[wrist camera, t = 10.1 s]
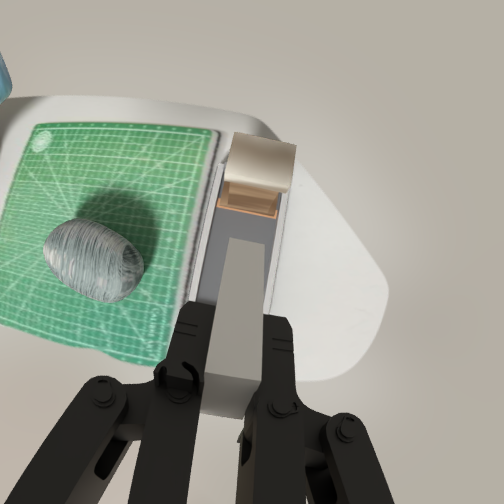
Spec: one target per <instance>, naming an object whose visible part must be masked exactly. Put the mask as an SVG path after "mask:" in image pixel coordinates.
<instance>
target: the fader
mask: <svg viewBox="0 0 504 504" xmlns="http://www.w3.org/2000/svg"><path fill="white" fill-rule="evenodd" d="M295 152H296V145H293V144H289V143H285V142H281V141H277V140H272V139H268V138H263V137H258V136H254V135H249V134H244V133H238V132H234V136H233V140H232V144H231V148H230V152H229V156H228V160H227V164H226V169H225V174H224V186H223V190H222V194H221V199H220V204H219V206H224V207H229V208H234V209H239V210H244V211H249V212H254V213H259V214H263V215H268V216H273V217H274V215H275V212H276V206H277V200H278V194H279V192H280V193H285V194H286V193H287V191H288V190H289V188H290V186H291V180H292V173H293V166H294V159H295ZM226 181H228V182H226Z"/></svg>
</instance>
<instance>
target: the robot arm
mask: <svg viewBox="0 0 504 504" xmlns="http://www.w3.org/2000/svg"><path fill="white" fill-rule="evenodd" d="M11 91H12V82H11V78H10V75H9V73H8V70H7V67H6V65H5V62H4V60H3V57H2V55H1V53H0V104H1V103H2V102H3V101H4V100H5V99H6V98H7V97H8V96H9V95H10V93H11ZM264 252H265V244H260V243H255V242H250V241H245V240H240V239H235V238H229V243H228V248H227V253H226V259H225V264H224V269H223V274H222V279H221V284H220V289H219V295H218V300H217V305H216V306H214V305H209V304H204V303H199V302H194V301H188V302H187V303H186V304H185V305H184V306H183V307H182V308H181V309H180V311H179V315H178V318H177V322H176V325H175V328H174V332H173V335H172V338H171V342H170V345H169V349H168V352H167V356H166V359H164V360H163V361H161V362H160V363H159V364H157V366H156V368H155V370H154V371H153V373H154V379H153V380H151V381H149V382H147V383H141V384H121V383H120V382H119V381H118V380H116V379H115V378H112V377H109V376H96V377H94V378H91V379H90V380H89V381H87V382H86V383H85V384H84V386H83V387H82V388H81V390H80V391H79V392H78V394H77V395H76V396H75V398H74V399H73V401H72V402H71V403H70V405H69V406H68V408H67V409H66V410H65V412H64V413H63V415H62V416H61V417H60V419H59V420H58V422H57V423H56V425H55V426H54V428H53V429H52V430H51V432H50V433H49V435H48V436H47V438H46V439H45V440H44V442H43V443H42V445H41V447H40V448H39V449H38V451H37V453H36V454H35V455H34V457H33V458H32V460H31V462H30V463H29V465H28V466H27V468H26V469H25V471H24V472H23V474H22V475H21V477H20V479H19V480H18V482H17V483H16V485H15V487H14V488H13V490H12V491H11V493H10V495H9V496H8V498H7V500H6V502H5V503H4V504H98V502H99V500H100V498H101V497H102V495H103V493H104V491H105V489H106V488H107V486H108V484H109V482H110V481H111V479H112V477H113V475H114V474H115V472H116V470H117V468H118V467H119V465H120V463H121V461H122V460H123V458H124V456H125V454H126V453H127V451H128V449H129V447H130V446H131V444H132V442H133V441H137V440H141V444H140V448H139V453H138V457H137V461H136V466H135V470H134V475H133V479H132V484H131V489H130V494H129V499H128V504H187V496H188V488H189V481H190V473H191V467H192V460H193V453H194V445H195V439H196V433H197V425H198V420H199V413H203V414H208V415H214V416H221V417H227V418H234V419H241V420H242V419H243V417H244V415H245V418H244V419H245V420H244V428H243V430H242V431H241V433H240V435H239V437H238V440H237V443H240V451H239V464H238V477H237V491H236V504H306V497H307V500H308V504H394V501H393V498H392V495H391V493H390V490H389V487H388V485H387V482H386V479H385V477H384V474H383V471H382V469H381V466H380V464H379V461H378V458H377V456H376V453H375V451H374V448H373V446H372V443H371V441H370V438H369V435H368V433H367V430H366V428H365V426H364V424H363V423H362V421H361V420H360V419H359V418H358V417H356V416H355V415H353V414H350V413H338V414H336V415H334V416H333V417H330V416H327V415H324V414H322V413H319V412H316V411H314V410H312V409H310V408H308V407H307V406H306V405H304V404H303V403H302V401H301V400H300V399H299V397H298V395H297V392H296V386H295V365H294V353H293V351H294V348H293V332H292V328H291V326H290V324H289V322H288V320H287V318H286V317H280V316H274V315H268V314H263V301H264Z"/></svg>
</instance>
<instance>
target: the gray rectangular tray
mask: <svg viewBox="0 0 504 504" xmlns="http://www.w3.org/2000/svg"><path fill="white" fill-rule="evenodd" d="M226 164H227V162H225V163H224V164H221V163H219V164H218V167H217V169H216V173H215V177H214V181H213V185H212V190H211V194H210V198H209V202H208V206H207V211H206V215H205V220H204V224H203V229H202V233H201V238H200V242H199V247H198V252H197V256H196V261H195V266H194V271H193V276H192V281H191V286H190V291H189V296H188V301H194V302H199V303H204V304H209V305H214V306H216V305H217V300H218V295H219V289H220V284H221V279H222V274H223V269H224V264H225V259H226V253H227V248H228V243H229V238H235V239H240V240H245V241H250V242H255V243H260V244H265V252H264V301H263V314H269V309H270V303H271V297H272V292H273V286H274V280H275V274H276V268H277V262H278V256H279V250H280V244H281V238H282V232H283V225H284V219H285V213H286V206H287V200H288V193H289V190H288V191H287V193H286V194H285V193H280V192H279V194H278V200H277V206H276V212H275V215H274V217H273V216H268V215H263V214H259V213H254V212H249V211H244V210H239V209H234V208H229V207H224V206H219V204H220V199H221V194H222V190H223V186H224V174H225V169H226ZM226 182H228V181H226Z"/></svg>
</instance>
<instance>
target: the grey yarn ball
mask: <svg viewBox="0 0 504 504" xmlns="http://www.w3.org/2000/svg"><path fill="white" fill-rule="evenodd" d="M43 253H44V257H45V260H46V263H47V265H48V266H49V268H50V270H51V271H52V272H53V274H54V275H55V276H56V277H57V278H58V279H60V280H61V281H62V282H63V283H64V284H66V285H67V286H68V287H70V288H71V289H73V290H75V291H77V292H79V293H81V294H83V295H85V296H87V297H89V298H92V299H95V300H98V301H102V302H106V303H113V302H117V301H120V300H123V299H124V298H125V297H127V296H128V295H130V294H131V293H132V292H133V291H134V290H135V288H136V287H137V286H138V284H139V282H140V281H141V279H142V276H143V272H144V262H143V258H142V256H141V254H140V252H139V251H138V250H137V249H136V248H135V246H133V245H132V244H131V243H130V242H129V241H128V240H127V239H126V238H124V237H123V236H121V235H120V234H118V233H117V232H115V231H113V230H111V229H109V228H108V227H106V226H104V225H102V224H99V223H97V222H94V221H91V220H87V219H72V220H69V221H66V222H64V223H63V224H61V225H59V226H58V227H56V228H55V229H54V230H53V231H52V232H51V233H50V234H49V236H48V237H47V239H46V241H45V244H44V248H43Z"/></svg>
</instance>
